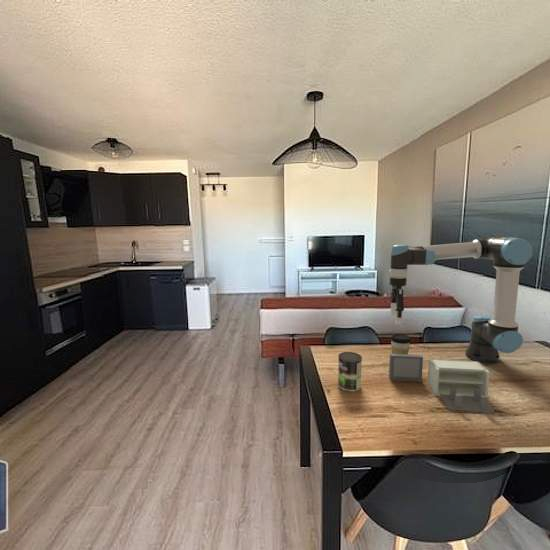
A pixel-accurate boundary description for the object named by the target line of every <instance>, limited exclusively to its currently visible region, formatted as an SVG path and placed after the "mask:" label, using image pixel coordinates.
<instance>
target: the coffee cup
mask: <svg viewBox="0 0 550 550" xmlns="http://www.w3.org/2000/svg"><path fill="white" fill-rule="evenodd" d="M389 340H390V343H391V344H390V347H391V354H409V350H410V344H411V341H412V340H411V337H410V336H409V335H408V334H404V333H393V334H391V336H390V338H389Z"/></svg>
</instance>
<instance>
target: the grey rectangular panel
mask: <svg viewBox="0 0 550 550" xmlns="http://www.w3.org/2000/svg"><path fill="white" fill-rule="evenodd" d="M388 363H389V365H388V379H389V380H391V381H407V382H422V380H423V365H424V364H423V363H424V357H423V355H422V354H412V353H411V354H410V353H408V354H392V353H389V362H388Z"/></svg>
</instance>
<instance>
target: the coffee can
mask: <svg viewBox="0 0 550 550" xmlns="http://www.w3.org/2000/svg"><path fill="white" fill-rule="evenodd" d="M337 357H338V369H337V370H338V371H337V372H338V373H337V374H338V376H337V377H338V378H337V386H338V388H339V389H341V390H343V391H346V392H357V391H359V390H360V389H362V364H363V363H362V360H363V356H362V355H361V354H359V353H357V352H353V351H344V352H339V354H338V356H337Z"/></svg>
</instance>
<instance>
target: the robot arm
mask: <svg viewBox="0 0 550 550" xmlns="http://www.w3.org/2000/svg"><path fill="white" fill-rule="evenodd" d="M390 250H391V253H390V269H389V271H388V272H389V275H390V277H389V285H390V286H391V293H390V298H389V300H390V313H389V314H390V316H394V317H395V321H394V322H395V325H403V312H404V311H405V308H404V306H405V304H404V289H403V288H402V287H405V286H407V276H408V266H416V265H417V266H432V265H434V264H435V262H436V261H437V260H448V259H451V260H452V259H462V258H473V259H476V260H477V259H478V260H479V259H486V260H492V261H493V264H492V266H493V268H494V269H495V270H496V272H495V273H496V274H495V287H494V297H493V309H492V315H487V314H477V315H473V317H472V319H471V329H470V330H471V332H470V341H469V344H468V346H467V348H466V349H465V356H466V357H467V358H468V359H470V360H471V361H478V362H479V363H480V364H481V363H482V364H493V365H494V364H498V363H499V362H500V354H499V352H501V353H505V354H510V353H511V354H512V353H515V352H516V351H517V350H520V348H521V347H522V346H523V343H524V337H523V335H522V334H521V333H520V332H519V323H517V321H516V312H517V303H518V292H519V283H520V272H521V271H522V270H523V269H525V265H526V263H528V262H529V261H530V260H531V258H532V256H533V247H532V245H531V244H530V243H529V242H528V241H527V240H526V239H524V238H519V237H513V236H511V237H510V236H509V237H508V236H507V237H506V236H494V237H492V236H491V237H487V238H480V239H474V240H472V241H468V242H467V241H466V242H456V243H445V244H432V245H431V244H430V245H422V246H420V245H419V246H409V245H407V244H395V245H392V247H391V249H390Z"/></svg>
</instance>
